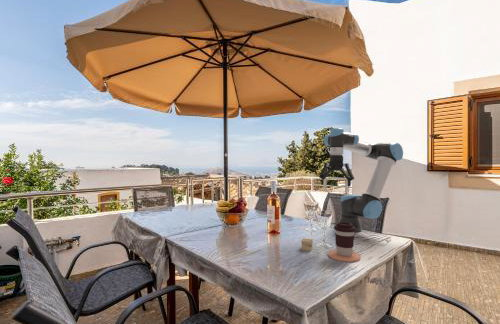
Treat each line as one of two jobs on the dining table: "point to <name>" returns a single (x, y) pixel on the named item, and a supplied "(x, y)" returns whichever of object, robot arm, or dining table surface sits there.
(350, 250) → the coffee cup
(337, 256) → the saucer
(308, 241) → the tan cube
